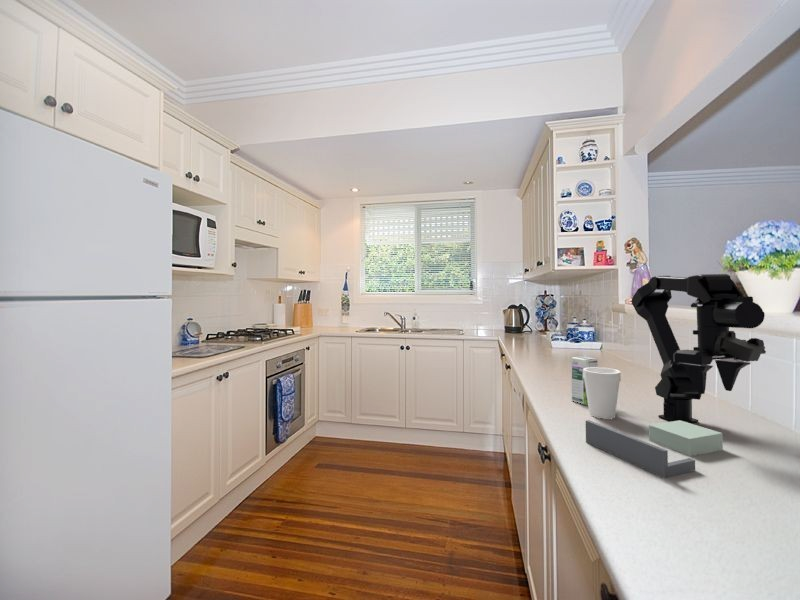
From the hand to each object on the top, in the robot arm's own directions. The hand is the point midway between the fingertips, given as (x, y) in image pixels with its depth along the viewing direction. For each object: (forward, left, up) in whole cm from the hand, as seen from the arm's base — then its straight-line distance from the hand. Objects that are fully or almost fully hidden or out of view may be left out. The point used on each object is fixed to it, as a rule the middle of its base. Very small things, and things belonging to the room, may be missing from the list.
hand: (715, 392), depth 84 cm
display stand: (+26, 0, -11) cm, 28 cm away
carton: (+11, 0, -11) cm, 16 cm away
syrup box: (+5, -34, -11) cm, 36 cm away
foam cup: (+11, -22, -11) cm, 27 cm away
